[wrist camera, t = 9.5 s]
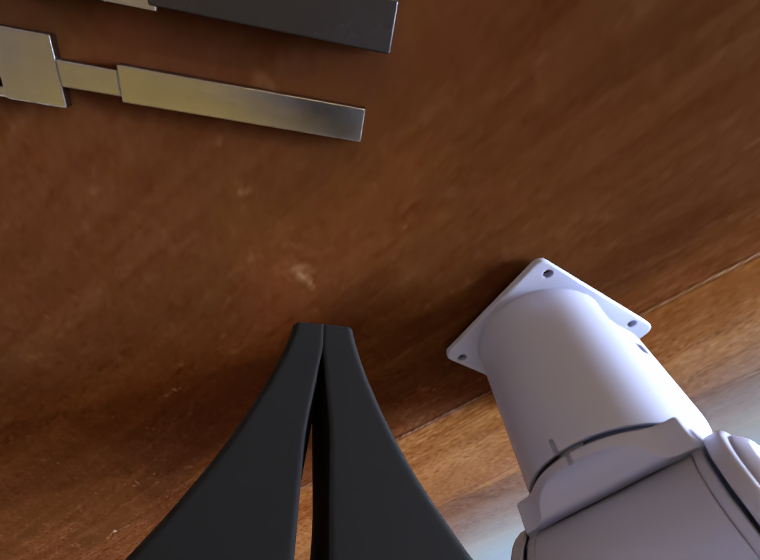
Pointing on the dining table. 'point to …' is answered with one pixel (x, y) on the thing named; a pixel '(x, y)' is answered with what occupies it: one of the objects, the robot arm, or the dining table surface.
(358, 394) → the robot arm
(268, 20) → the knife
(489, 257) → the dining table surface
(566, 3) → the dining table surface
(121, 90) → the fork
